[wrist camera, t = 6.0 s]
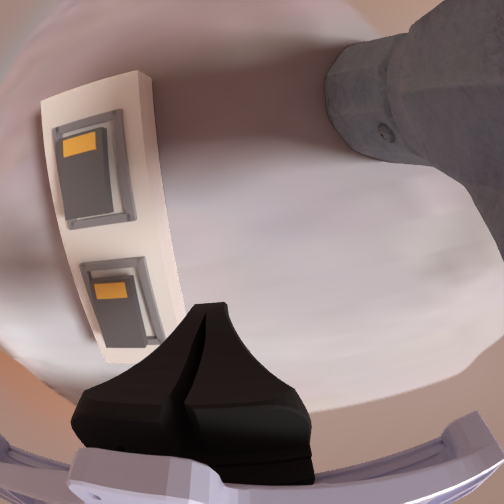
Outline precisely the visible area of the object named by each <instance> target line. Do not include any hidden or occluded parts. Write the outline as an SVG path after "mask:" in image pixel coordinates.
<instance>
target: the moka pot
mask: <svg viewBox="0 0 504 504" xmlns="http://www.w3.org/2000/svg"><path fill="white" fill-rule="evenodd" d="M325 101H326V109H327V114H328V117H329V119H330V121H331V122H332V124H333V126H334V127H335V129H336V130H337V131H338V133H339V134H340V135H341V137H342V138H343V139H344V140H345V141H346V142H347V144H348V145H349V146H350V147H351V148H352V149H353V150H354V151H356V152H359V153H361V154H364V155H366V156H369V157H372V158H375V159H379V160H382V161H385V162H389V163H403V164H413V165H424V166H433V167H435V168H437V169H438V170H440V171H442V172H443V173H445V174H446V175H448V176H450V177H451V178H453V179H455V180H456V181H458V182H459V183H461V184H462V185H463V186H464V187H465V188H466V189H467V191H468V192H469V194H470V195H471V197H472V199H473V201H474V204H475V205H476V207H477V209H478V211H479V212H480V214H481V216H482V218H483V220H484V221H485V223H486V225H487V227H488V229H489V230H490V232H491V234H492V236H493V238H494V240H495V242H496V244H497V246H498V249H499V251H500V254H501V256H502V259H503V261H504V0H444V1H443V2H441V3H440V4H439V5H437V6H436V7H435V8H434V9H433V10H431V11H430V12H428V13H427V14H426V15H424V16H423V17H421V18H420V19H419V20H418V21H416V22H415V23H414V24H413V25H412V26H411V27H410V29H409V33H402V34H397V35H394V36H389V37H384V38H380V39H376V40H372V41H368V42H363V43H359V44H355V45H352V46H349V47H346V48H345V49H344V50H343V51H342V52H341V53H340V55H339V56H338V57H337V59H336V60H335V62H334V63H333V65H332V67H331V68H330V69H329V71H328V73H327V75H326V78H325Z"/></svg>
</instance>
